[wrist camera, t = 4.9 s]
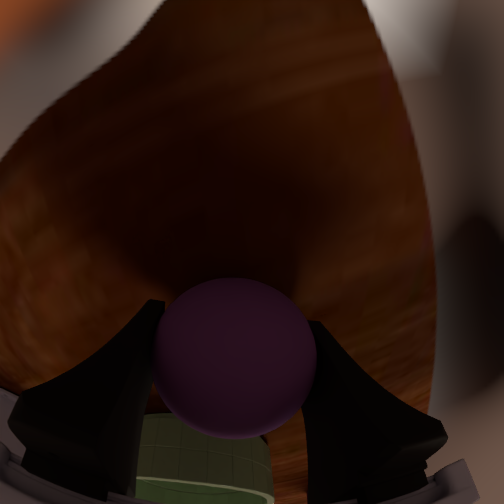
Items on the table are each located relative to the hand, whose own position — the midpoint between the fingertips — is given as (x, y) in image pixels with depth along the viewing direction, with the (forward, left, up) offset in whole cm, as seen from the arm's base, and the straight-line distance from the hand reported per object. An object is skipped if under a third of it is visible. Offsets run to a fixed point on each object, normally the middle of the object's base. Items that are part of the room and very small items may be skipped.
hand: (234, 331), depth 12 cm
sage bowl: (-1, -17, -2) cm, 17 cm away
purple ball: (0, 0, +2) cm, 2 cm away
